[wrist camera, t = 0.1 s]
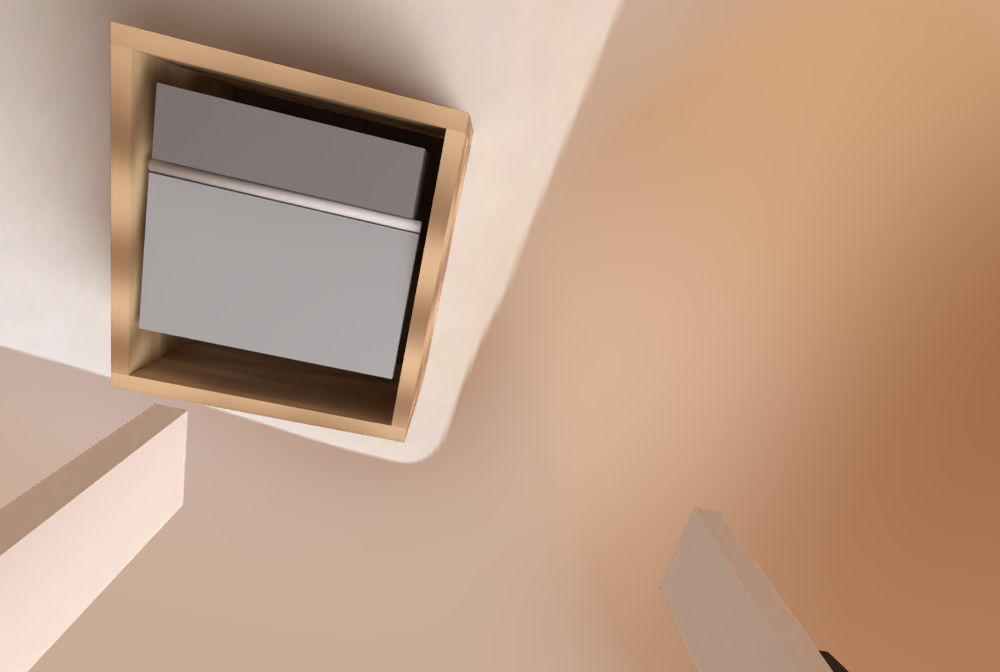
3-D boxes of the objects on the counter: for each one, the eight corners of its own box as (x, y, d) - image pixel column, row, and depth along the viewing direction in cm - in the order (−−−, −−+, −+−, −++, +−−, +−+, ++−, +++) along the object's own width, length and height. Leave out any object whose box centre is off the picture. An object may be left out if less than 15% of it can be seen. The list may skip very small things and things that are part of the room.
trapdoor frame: (220, 67, 34) (110, 21, 24) (473, 131, 36) (469, 113, 26) (204, 335, 40) (111, 387, 30) (423, 379, 42) (404, 442, 32)
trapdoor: (188, 97, 29) (146, 80, 25) (438, 158, 31) (433, 150, 27) (171, 317, 32) (131, 330, 28) (399, 364, 34) (389, 382, 30)
